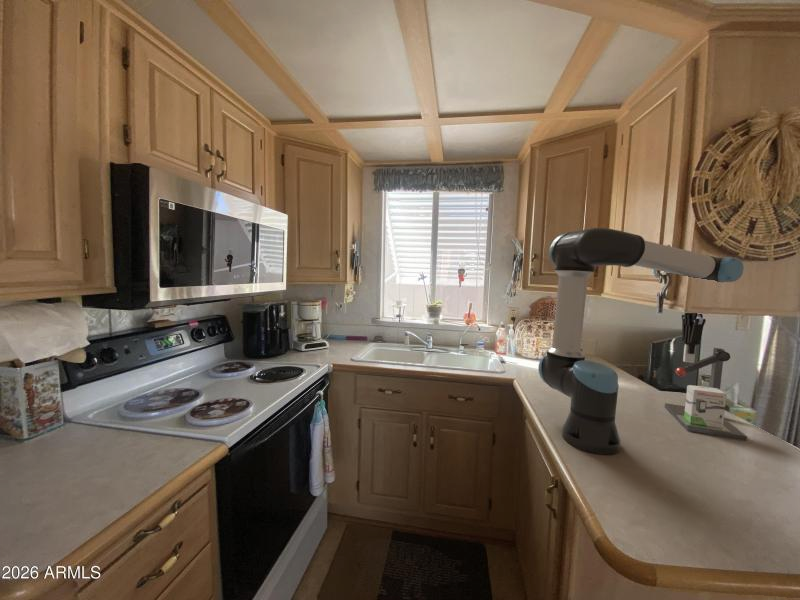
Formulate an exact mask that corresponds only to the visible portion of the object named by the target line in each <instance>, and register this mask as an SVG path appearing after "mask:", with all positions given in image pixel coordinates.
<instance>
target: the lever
mask: <svg viewBox="0 0 800 600" xmlns="http://www.w3.org/2000/svg"><path fill="white" fill-rule="evenodd" d="M730 359H731V354H730V353H729V352H727V351H725V350H724V351H723V350H718V351H716V352H715V353H714V355H713V354H712V355H711V356H708V357H705V358H703V359H701V360H698V361H694V363H690V364H688V365H685V366H683V367H677V368H675V370H674V371H675V374H676V375H677V376H679V377H685V376H686V375H687V374H689V373H691V372H694V371H697V370H699V369H702V368H704V367H707V366H710V365H712V363H715V362H718V361H723V362H728V361H730Z"/></svg>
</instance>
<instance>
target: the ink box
mask: <svg viewBox="0 0 800 600" xmlns="http://www.w3.org/2000/svg"><path fill="white" fill-rule="evenodd" d="M727 396H728V394H727V393H726V392H724V391H722V390H721V388H720V389H717V388H710V386H709V387H708V386H700V385H693V384H692V385H691V384H688V385H687V386H686V395H685V405H684V406H685V413H684V418H685V419H686V420H687V421H689V422H690V423H692V424H698V425H705V426H711V427H718V428H723V420H724V419H725V411H726V403H727Z"/></svg>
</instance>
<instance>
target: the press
mask: <svg viewBox="0 0 800 600" xmlns="http://www.w3.org/2000/svg"><path fill="white" fill-rule="evenodd" d="M718 350H723V351H725V349H723V348H720V347H719V348H718V347H713V350H712V351H713V352H712V356H713V355H714V353H715V352H716V351H718ZM723 365H724V361H718V362H715V363H712V364H711V369H710V379H709V387H710V388H717V389H720V390H721V384H722V375H723V367H724V366H723ZM664 408H665V409H666V411H668V412H669V414H671V415H672V417H674V418H675V420H676V421H677V422H678V424H680V425H681V426H682V427H683V429H685V430H686V431H687V432H691V433H692V432H693V433H697V434H704V435H709V436H715V437H719V438H720V437H721V438H728V439H732V440H739V441H745V442H746V441H747V438H748V436H747V435H746V434H745V433H743V432H742V431H741V430H739V429H738V428H736V426H734V425H733V424H732V423H730V421H728V420H726V419H725V418H724V420H723V428H718V427H711V426H705V425H698V424H692V423H690V422H689V421H687V420H686V419H685V418H684V413H685V405H679V404H673V403H668V402H667V403H664Z"/></svg>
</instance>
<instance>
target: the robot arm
mask: <svg viewBox="0 0 800 600" xmlns="http://www.w3.org/2000/svg"><path fill="white" fill-rule="evenodd" d="M548 253H549V254H548V255H549V259H550V260H551V262H552V264H553V265H554V272H555V273H556V275H557V276H558V283H557V284H558V285H557V292H556V293H557V294H556V302H555V311H554V312H555V313H554V323H553V324H554V325H553V333H552V345H551V346H549V347H548V348H547V349H546V354H544V355H543V357H542V358H540V360H539V363H538V375H539V377H540V379H541V380H542V382H544V383H545V384H546V385H548V387H550V388H551V389H553V390H556V391H558V392H560V393H561V394H563V395H565V396H566V397H568V398H570V407H569V408H570V409H569V410H570V411H569V412H568V413H569V414H568V415H567V417H566V420H565V422H564V424H563V426H562V431H561V432H562V433H561V435H562V437H563V440H565V441H566V442H567V443H568V444H570V445H571V446H573V447H575V448H577V449H579V450H582V451H585V452H588V453H591V454H597V455H614V454H615V455H616V454H618V453H619V452H620V451H621V438H620V435H619V431H618V429H617V423H616V411H617V402H618V393H619V375H618V373H617V371H616V370H615V369H613V368H611V367H610V366H608V365H606V364H603V363H600V362H596V361H593V360H585V359H586V354H585V353H584V352H583V351H582V337H583V328H584V318H585V309H586V300H587V292H588V290H587V289H588V281H589V277H591V276H592V275H593V274H594V273H595V267H601V266H604V267H605V266H618V267H619V266H620V267H624V268H631V267H633V266H637V267H641V268H645V269H651V270H653V272H652V273H653V275H654V277H655V278H656V279H657V278H658V276H657V273H656V270H659V271H664V272H669V273H673V274H678V275H683V276H688V277H693V278H701V279H707V280H715V281H717V282H716V283H733V282H736V281H738V280H740V279H741V277H742V275H743V274H744V270H745V267H744V263H743V262H742V260H741V259H740V258H737V257H734V256H733V257H730V256H724V257H719V258H718V256H714V255H712V256H709V255H710V254H709V255H704V254H705V253H704V254H703V253H700V252H695V251H691V250H687V249H682V248H677V247H674V246H669V245H665V244H661V243H656V242H654V241H648V240H645V239H644V237H642V235H639V234H635V233H630V232H626V231H623V230H618V229H613V228H607V227H592V228H587V229H581V230H574V231H568V232H566V233H563V234H562V233H561V234H560V235H558V236H557V237H556V238H554V240H553V241H552V243H551V245H550V246H549V252H548ZM706 321H707V320H706V318H703V313H702V314H697V313H685V312H684V314H681V322H682V323H681V325H682V328H681V333H682V334H681V338H682V340H681V341H683V343H684V347H683V357H682V361H683V362H684V363H690V364H693V363H695V357H696V348H697V346H699V345H700V342H701V340H702V339H701V338H702V336H703V335H702V334H703V330H704V325H705V324H706Z"/></svg>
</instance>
